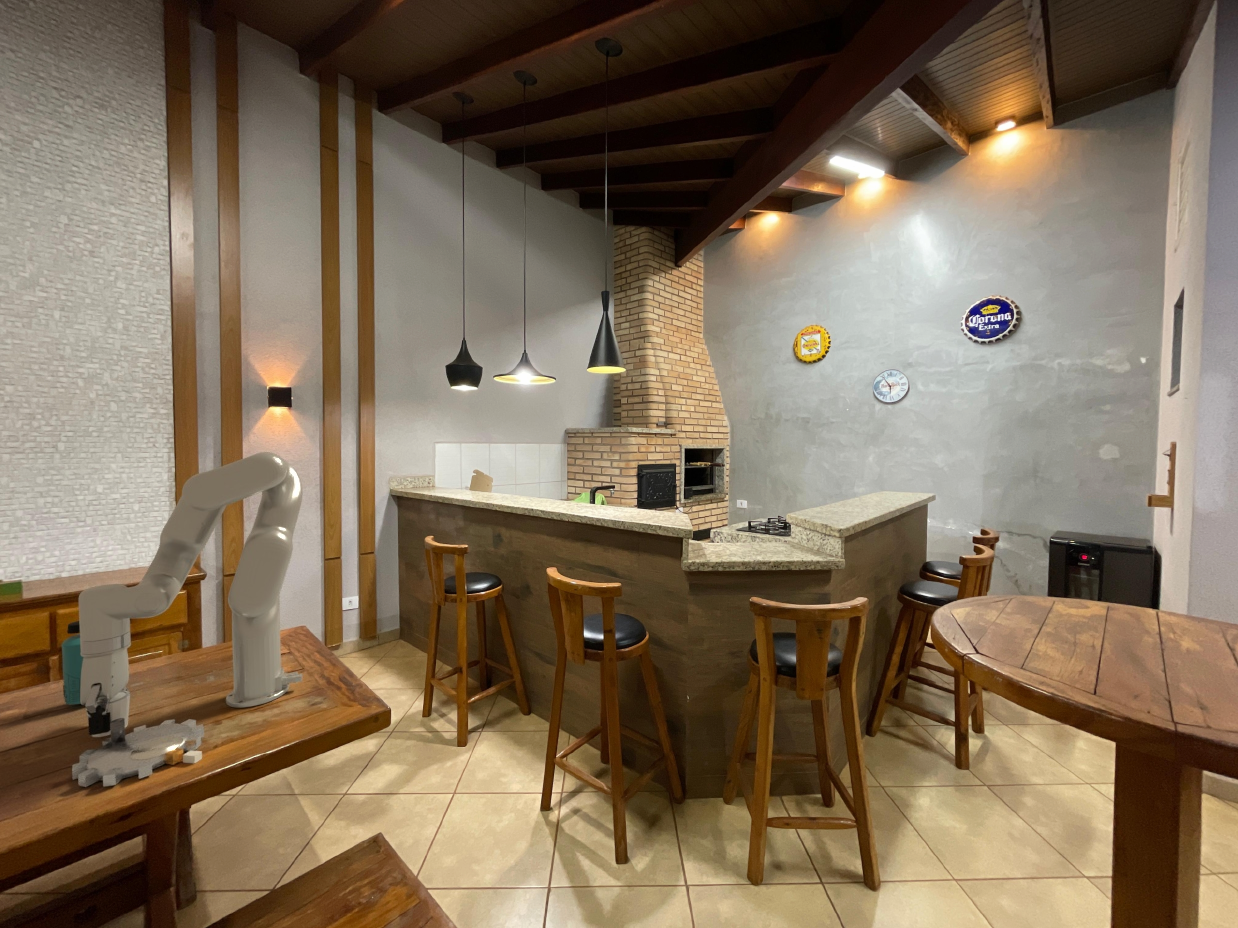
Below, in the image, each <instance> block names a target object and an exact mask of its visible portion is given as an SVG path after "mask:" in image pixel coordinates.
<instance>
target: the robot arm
mask: <svg viewBox="0 0 1238 928" xmlns="http://www.w3.org/2000/svg"><path fill="white" fill-rule="evenodd" d="M260 493H261V498H260V502H259V505H258V509H257V514H256V517H255V518H254V521H253V525H252V528H251V530H250V532H249V535H248V536H247V537H246V539H245V542H244V545H243V547H242V552H241V555H240V557H239V558H240V559H239V561H238V564H237V567H236V570H235V573H234V577H233V579H232V582H231V585H230V588H229V591H228V595H227V603H228V606H229V608H230V610H231V629H232V631H231V633H232V639H231V640H232V667H233V671H232V672H233V674H232V675H233V690H231V691H230V692H229V693H228V694H227V695H226V696H225V697H226V698H225V703H226V705H227V706H229V707H232V708H250V707H254V706H260V705H264V704H266V703H270V702H272V701H274V700H276V699H278V698H280V697H282V696H283V695H285V694H286V693H287V692H288V691H289V689H290V684H295V683H296V684H297V683H301V682H303V673H298V671H293V672H289V673H288V672H285V668H284V667H282V655H281V654H282V652H281V650H282V647H281V608H280V606H281V603H280V602H281V599H280V598H281V596H280V595H281V591H282V587H283V585H284V582H285V578H286V574H287V572H288V569H289V565H290V561H291V558H292V556H293V555H292V554H293V549H294V547H293V545H294V544H293V536H294V532H295V529H296V525H297V521H298V517H299V513H300V510H301V507H302V502H303V484H302V481H301V478H300V476H299V474H298V472H297V470H296V469H295V468H294V467H293V466H292V465H291V464H290V463H289V461H287V460H286V459H284V457H281V456H280V455H278V454H277V453H274V452H271V451H262V452H261V451H260V452H257V453H255V454H252V455H250V456H246V457H244V458H241V459H239V460H238V459H237V460H236V461H233V462H230V463H227V464H224V465H222V466H220V467H216V468H213V469H210V470H207V471H201V472H200V473H199V472H198V473H197V474H194V475H192V476H191V477H189V478H188V479H187V480H186V481H185V483H184V484H183V486H182V489H181V496H180V497H179V500H178V502H177V503H176V506H175V507H174V508H173V511H172V513H171V515H170V517H168V519H167V521H166V523H165V525H164V526H163V528H162V530H161V533H160V537H159V546H158V548H157V551H156V553H155V555H154V557H153V560H152V561H151V562H150V564H149V567H148V568H147V570H146V572H145V574H144V576H143V577H142V578H141V581H140V582H139V583H138V584H137V585H135V586H134V585H133V586H130V587H128V586H127V585H125V584H122V583H120V584H119V583H108V584H101V585H97V586H92V587H88V588H86V589H84V590H82V591H81V592H80V594H79V596H78V618H79V620H78V621H79V623H80V633H79V634H80V647H81V656H82V657H84V658H83V663H82V670H81V689H80V704H81V705H82V706H85V710H86V709H87V711H86V715H87V713H88V715H87V721H88V722H87V723H88V735H89V736H91V735H96V734H101V733H106V732H109V731H110V730H111V728H110V722H111V717H110V712H108V708H109V703H110V700H111V699H112V698H114V697H115V696H116V695H117V694H118V693H119V692H120V691H128V688H127V685H128V683H129V680H130V667H129V665H130V663H129V655H128V648H130V647H131V645H132V642H131V620H130V619H147V618H149V619H150V618H153V617H157V616H159V615H161V614H163V613H164V612H166V611H167V610H169V608H170V607H171V606H172V604H173V602H174V600H175V599H176V597H178V594H180V591H181V589H182V587H183V585H184V583H185V581H186V579H187V577H188V575H189V574H190V573H191V570H192V568H193V566H194V564H195V563H196V561H197V559H198V557H199V555H200V554H201V553H202V551H203V550H204V549H205V548H206V545H207V544H208V541H209V540H210V538H211V536H212V533H213V532H214V530H215V528H216V526H217V524H218V523H219V521H220V519H221V517H222V515H223V513H224V511H225V509H226V508H227V506H229V505H231V504H234V503H237V502H239V501H242V500H245V499H248V498H249V497H253V496H255V495H257V494H260ZM105 696H106V698H105V699H99V700H98V698H99V697H105ZM99 703H104V705H103V708H102V707H101V706H100V705H99V706H98V704H99Z"/></svg>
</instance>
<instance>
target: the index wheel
mask: <svg viewBox="0 0 1238 928" xmlns="http://www.w3.org/2000/svg"><path fill="white" fill-rule="evenodd" d="M110 728H111V734H110V737H107V738H105V739H104V740H102V746H100V747H99V748H94V749H87V750H85V751H84V752H82V753H81V754H79V757H78V758H79V759H78V760H79V762H77V763H74V764H72V765H71V767H72V769H71V771H72V777H71V778H72V781H73V780H76V779H78V786H80V787H83V788H84V787H85V788H87V787H89V786H90V785H93V784H94V783H96V782H99V781H102V786H103V787H111V786H116V785H118V783H119V782H120V781H122V780H123V779H125V778H129V777H133V776H137V775H138V779H143V778H145V777H148V776H151V775H153V770H154V769H157V768H159V767H161V766H164V765H165V764H167V765H173V766H174V765H176V764H177V763H179V762H181V761H183V755H184V754H185V752H189V751H190V750H192V751H197V750H198V748H199V747H200V746H201V745H202V738H204V737H205V727H204V724H203V723H202V724H199V725H197V720H196V719H190V718H189V719H187V720H185V721H183V722H180V723H176V720H175V719H167V720H164V721H163V722H161V723H160V724H158V725H153V726H150V727H147V725H146V724H144V725H141V726H137V727H134V728H133V732H130V733H128V734H127V733H126V728H125V720H124V718H119V719H116V720H113V721H111V722H110Z"/></svg>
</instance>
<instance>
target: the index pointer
mask: <svg viewBox="0 0 1238 928" xmlns="http://www.w3.org/2000/svg"><path fill="white" fill-rule="evenodd" d="M202 759H203V751H202V750H201V751H200V750H189V751H186V753H183V760H182V762H183V763H184V764H185V763H186V764H196V763H198V762H199V761H201V760H202ZM183 763H182V764H183Z"/></svg>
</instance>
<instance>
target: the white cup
mask: <svg viewBox="0 0 1238 928" xmlns="http://www.w3.org/2000/svg"><path fill="white" fill-rule="evenodd" d="M105 698H106V696H105V697H99V698H98V700H99V699H105ZM130 701H131V691H129V690H127V691H120V692H119V693H118V694H117V695H116V696H115V697H114V698H112V699H111V700H110V703H109V708H108V712H110V717H111V721H113V720H116V719H119V718H124V720H125V729H126V728H127V726H128V725H129V714H130V713H129V712H130ZM99 705H100V706H101V707H102V708H103V705H104V703H99V704H98V706H99ZM85 710H86V715H88V713H87V709H86V708H85ZM90 736H91V737H93V738H101V737H106V736H111V730H110V731H109V732H106V733H101V734H96V735H90Z"/></svg>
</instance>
